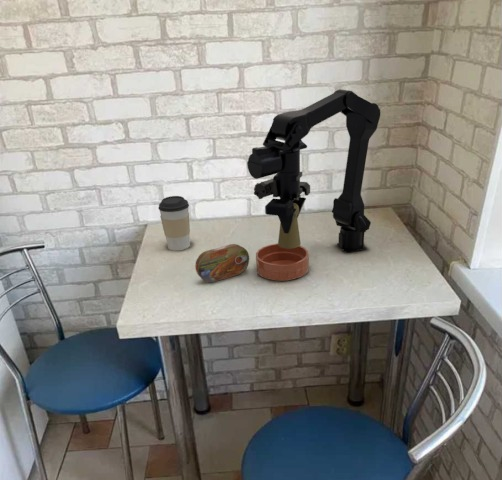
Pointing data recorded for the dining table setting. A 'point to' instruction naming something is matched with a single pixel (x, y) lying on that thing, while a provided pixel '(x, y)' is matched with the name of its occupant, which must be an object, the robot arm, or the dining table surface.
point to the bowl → (282, 262)
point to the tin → (222, 262)
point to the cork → (290, 234)
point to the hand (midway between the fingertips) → (289, 230)
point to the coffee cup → (175, 222)
